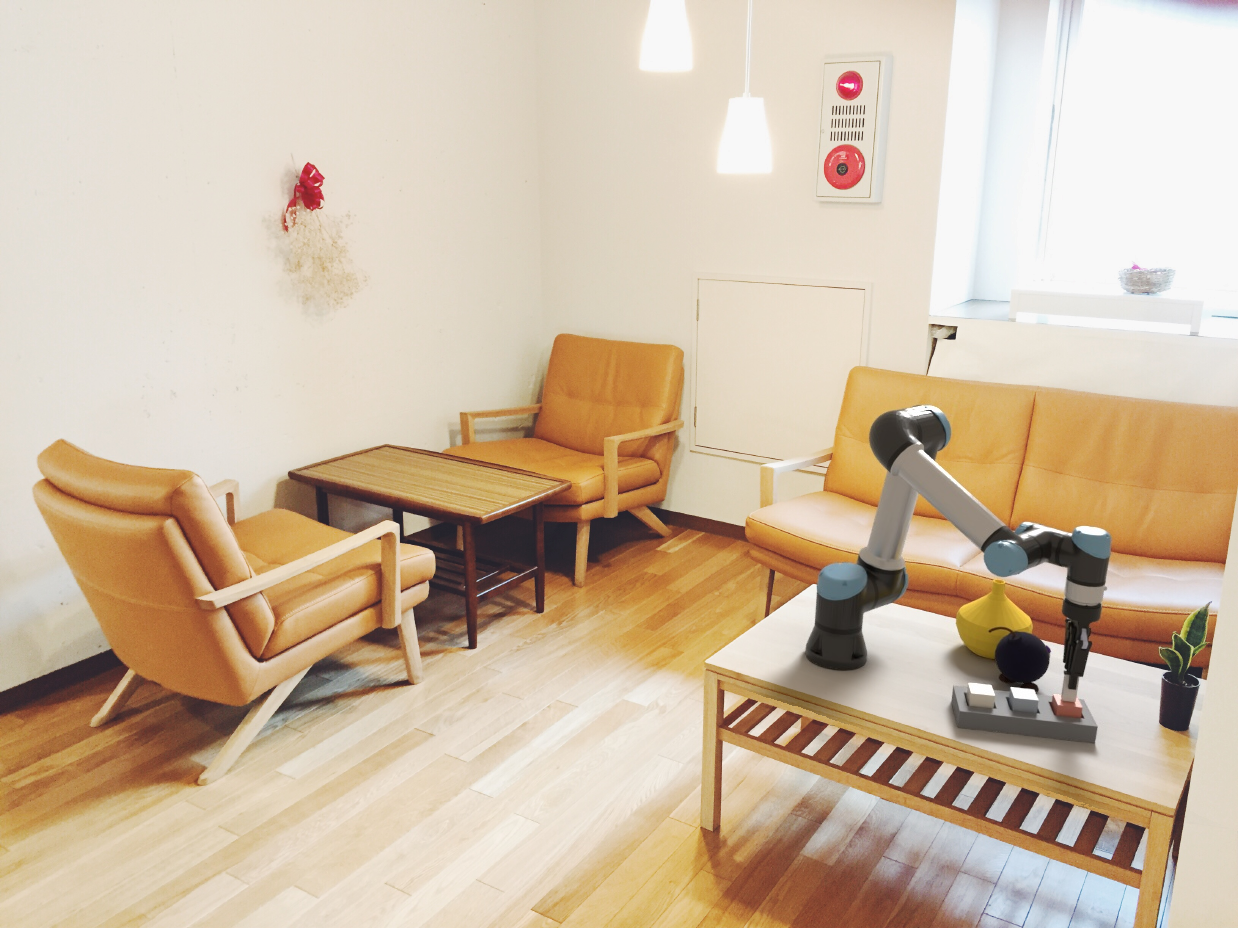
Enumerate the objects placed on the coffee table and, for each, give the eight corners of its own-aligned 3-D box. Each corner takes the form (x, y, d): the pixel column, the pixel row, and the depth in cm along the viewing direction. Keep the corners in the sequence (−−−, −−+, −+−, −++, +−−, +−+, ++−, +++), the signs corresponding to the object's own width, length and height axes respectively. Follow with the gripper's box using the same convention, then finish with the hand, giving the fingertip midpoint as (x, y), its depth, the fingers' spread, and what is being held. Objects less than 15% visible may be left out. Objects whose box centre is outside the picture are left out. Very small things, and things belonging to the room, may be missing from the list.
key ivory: (969, 708, 216) (971, 692, 215) (966, 698, 221) (968, 682, 220) (992, 711, 215) (995, 695, 214) (989, 700, 220) (991, 684, 219)
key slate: (1012, 713, 215) (1014, 697, 214) (1008, 702, 219) (1010, 686, 218) (1036, 716, 214) (1038, 700, 213) (1031, 705, 218) (1034, 689, 217)
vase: (1035, 646, 254) (1044, 577, 249) (1020, 674, 239) (1030, 601, 234) (962, 629, 264) (970, 563, 259) (944, 654, 249) (952, 584, 244)
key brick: (1055, 720, 213) (1057, 704, 212) (1050, 709, 218) (1052, 693, 217) (1080, 723, 212) (1082, 707, 211) (1074, 712, 217) (1077, 696, 216)
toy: (1056, 692, 230) (1065, 634, 226) (1007, 700, 226) (1015, 640, 222) (1022, 669, 241) (1030, 613, 237) (975, 676, 238) (982, 619, 234)
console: (957, 727, 214) (959, 710, 213) (951, 700, 226) (953, 685, 225) (1095, 743, 209) (1097, 726, 208) (1081, 715, 220) (1083, 699, 219)
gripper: (1110, 613, 201) (1094, 716, 207) (1094, 589, 213) (1079, 687, 219) (1071, 609, 202) (1056, 712, 208) (1057, 586, 215) (1043, 684, 221)
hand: (1068, 699), depth 214 cm, fingers closed
